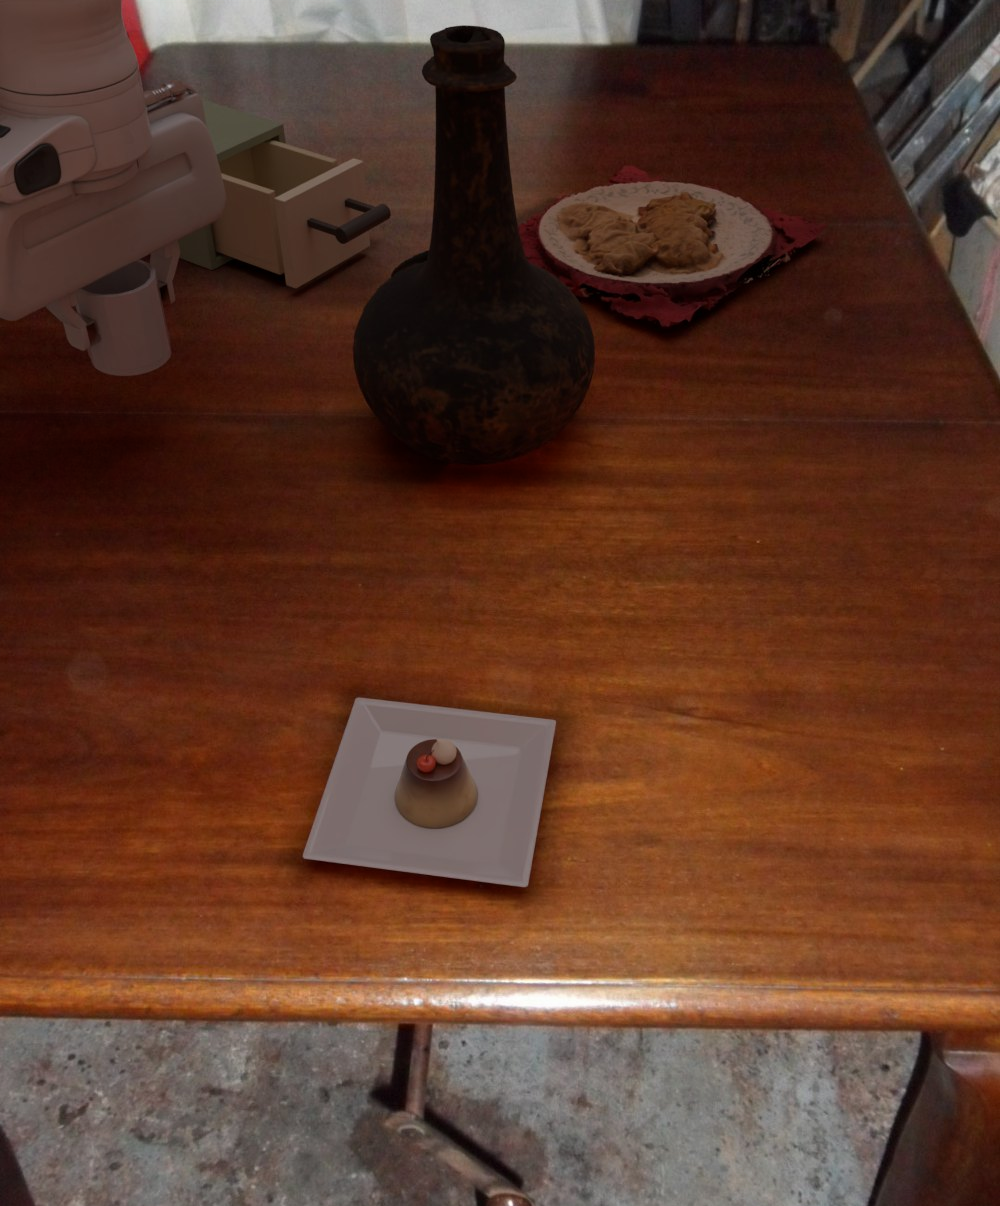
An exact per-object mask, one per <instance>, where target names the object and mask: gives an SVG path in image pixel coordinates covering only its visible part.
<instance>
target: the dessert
mask: <svg viewBox="0 0 1000 1206" xmlns="http://www.w3.org/2000/svg"><path fill="white" fill-rule="evenodd" d="M556 726H557V721H556V720H555V719H552V718H551V719H550V718H542V717H534V716H533V717H532V716H524V715H517V714H516V715H515V714H507V713H498V712H490V711H481V710H472V709H464V708H463V709H462V708H456V707H455V708H454V707H445V706H439V705H430V704H429V705H428V704H419V703H411V702H404V701H403V702H402V701H394V700H384V699H378V698H377V699H375V698H368V697H356V698H355V699H354V703H353V706H352V708H351V711H350V714H349V717H348V719H347V723H346V726H345V729H344V732H343V734H342V738H341V741H340V744H339V746H338V750H337V753H336V756H335V758H334V762H333V764H332V767H331V770H330V773H329V775H328V779H327V782H326V785H325V788H324V790H323V793H322V796H321V799H320V804H319V805H318V808H317V811H316V814H315V818H314V820H313V823H312V826H311V830H310V831H309V835H308V838H307V841H306V844H305V847H304V850H303V853H302V858H303V859H304V860H310V861H311V860H312V861H321V862H328V863H334V864H335V863H336V864H344V865H351V866H359V867H364V868H365V867H366V868H373V869H374V868H375V869H382V870H389V871H397V872H404V873H411V874H420V875H426V876H427V875H429V876H435V877H444V878H449V879H450V878H451V879H457V880H458V879H459V880H466V881H474V882H480V883H481V882H482V883H490V884H496V885H504V886H505V885H506V886H512V887H520V888H527V887H528V886H529V882H530V876H531V870H532V866H533V865H532V864H533V858H534V853H535V846H536V842H537V835H538V830H539V823H540V820H541V819H540V818H541V812H542V808H543V800H544V795H545V789H546V784H547V777H548V772H549V767H550V762H551V761H550V760H551V754H552V749H553V743H554V738H555V733H556Z"/></svg>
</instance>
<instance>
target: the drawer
mask: <svg viewBox="0 0 1000 1206" xmlns="http://www.w3.org/2000/svg"><path fill="white" fill-rule="evenodd" d="M219 167H220V171H221V175H222V179H223V183H224V188H225V194H226V204H225V207H224V211H223V214H222V216H221V218H220V219H218V220H217V221H215V222H213V223H211V224H210V226H211V231H212V237H213V242H214V248H215V251H216V252H219V253H222V254H224V255H227V256H230V257H233V258H235V259H234V260H238V261H240V262H244V263H246V264H249V265H251V266H254V267H257V268H260V269H262V270H266V271H268V272H271V273H274V274H276V275H279V276H280V275H283V274H284V278H285V285H286V286H287V287H290V288H293V289H298V288H300V287H302V286H304V285H305V284H307V283H308V282H310V281H313V280H314V279H315V278H317V277H319V276H320V275H322V274H324V273H326V272H328V271H329V270H331V269H333V268H335V267H336V266H338V265H340V264H341V263H343V262H345V261H347V260H348V259H351V258H352V257H354V256H355V255H357V254H358V253H361V252H362V251H364V250H366V249H367V248H369V247H371V239H370V237H371V236H370V230H372V229H374V228H375V227H378V226H379V225H381V224H383V223H385V222H387V221H388V220H390V219H391V215H392V213H391V209H390V207H389V206H388V205H387V204H385V203H380V204H378V205H376V206H374V205H371V204H370V203H369V204H368V201H367V188H366V176H365V166H364V160H362V159H361V160H360V159H357V158H353V157H352V158H351V159H349V160H347V161H344V162H343V163H341V164H338V159H336V158H333V157H329V156H327V155H323V154H320V153H316V152H313V151H310V150H307V149H304V148H300V147H297V146H294V145H291V144H288V143H286V144H284V143H281V142H278V141H275V140H271V139H269V140H267V141H264V142H262V143H260V144H258V145H256V146H254V147H251V148H249V149H247V150H245V151H243V152H241V153H238V154H236V155H234V156H232V157H230V158H228V159H226V160H223V161H221V162H219Z"/></svg>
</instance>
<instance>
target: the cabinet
mask: <svg viewBox="0 0 1000 1206" xmlns="http://www.w3.org/2000/svg"><path fill="white" fill-rule="evenodd" d="M202 102H203V108H204V114H205V120H206V128H207V130H208V132H209V134H210V137H211V140H212V143H213V146H214V149H215V152H216V156H217V159H218V163H219V162H221V161H223V160H226V159H228V158H230V157H232V156H234V155H236V154H238V153H241V152H243V151H245V150H247V149H249V148H251V147H254V146H256V145H258V144H260V143H262V142H264V141H267V140H269V139H271V140H275V141H278V142H281V143H284V144H287V142H286V141H287V140H286V135H285V127H284V126H285V125H284V123H283V122H280V121H276V120H273V119H269V118H265V117H262V116H260V115H255V114H252V113H249V112H246V111H243V110H238V109H235V108H232V107H228V106H225V105H222V104H219V103H216V102H212V101H209V100H205V99H202ZM178 243H179V248H180V256H179V260H183V261H185V262H188V263H191V264H194V265H197V266H199V267H202V268H204V269H207V270H209V271H214V270H216V269H218V268H220V267H222V266H224V265H226V264H227V263H229V262H231V261H232V260H236V259H235V258H233V257H230V256H227V255H224V254H222V253H219V252H216V251H215V248H214V242H213V237H212V231H211V226H210V224H209V225H207V226H205V227H203V228H201V229H199V230H197V231H195V232H193V233H191V234H189V235H187V236H185V237H183V238H181V239H179V240H178Z"/></svg>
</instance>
